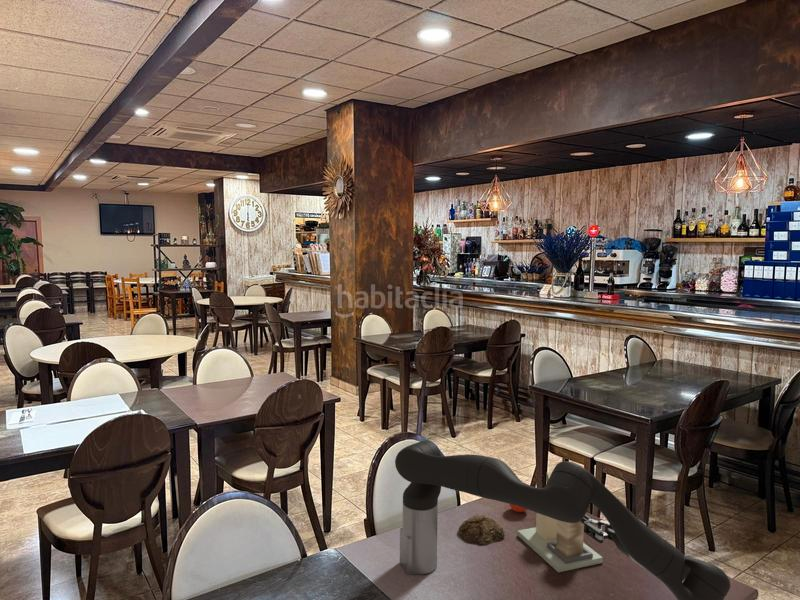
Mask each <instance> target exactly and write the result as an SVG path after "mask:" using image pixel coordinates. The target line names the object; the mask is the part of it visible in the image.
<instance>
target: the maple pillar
mask: <svg viewBox="0 0 800 600" xmlns="http://www.w3.org/2000/svg"><path fill="white" fill-rule="evenodd" d="M583 543H584V524H583V523H582V522H577V523H567V522H563V521H559V520H557V535H556V549H557V550H559V551H560V552H561V553H562V554H563V555H564V556H566V557H570V556H575V555H580V554H583Z"/></svg>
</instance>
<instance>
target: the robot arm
mask: <svg viewBox="0 0 800 600" xmlns="http://www.w3.org/2000/svg"><path fill="white" fill-rule="evenodd" d="M394 463H395V468H396V471H397V473H398V474H399V475H400V476H401V478H403V480H405V481H408V482H409V484H408V485H407V487H406V488H405V489H404V490H403V493H402V527H400V529H399V563H400V564H401V566H402V568H403V569H404V571H405V572H406V574H408V575H409V574H414V575H426V574H430V573H432V572H434V571H435V570H436V568H437V566H438V507H439V505H438V502H439V500H438V499H439V497H440V494H441V491H442V488H445V489H450V490H452V491H458V492H462V493H466V494H470V495H472V496H475V497H479V498H484V499H488V500H492V501H498V502H502V503H504V504H505V503H506V504H508V505H509V504H512V505H516V506H519V507H522V508H525V509H527V510H528V511H530V512H531V511H532V512H533V513H535V514H536V513H539V514H542V515H545V516H547V517H550V518H553V519H556V520H559V521H563V522H567V523H577V522H582V523H583V524H584V533H585V534H586V535H588V537H590V538H591V539H593V540H595V541H596V542H597V543H599V544H604V540H609V541H611V542H614V544H615V545H616V546H615V547H616V548H617V549H618V551H620V553H622V554H623V555H624V556H626V557H627V558H629V559H630V560H631V561H633V562H634V563H635V564H636V565H638V566H640V567H641V568H642V569H645V570H646V571H648V572H649V573H651V574H652V575H654V576H655V577H656V578H657V579H659V581H661V582H662V583H663V584H664V585H665V586H666V587H667V588H668V590H670V592H671V593H672V594H673V595H674V597H675V598H676V599H677V600H725V597H726V596H727V595H728V593H729V592H730V590H731V585H732V584H731V579H730V578H729V576H728V575H727V573H726V572H725V571H724V570H722V569H721V568H720V567H718V566H717V565H715V564H713V563H710V562H707V561H705V560H701V559H697V558H693V557H691V556H687V555H685V554H683V552H681V551H680V550H679V549H678V548H677V547H676V546H674V545H672V543H670V542H669V541H668V540H666V539H665V538H663V537H662V536H660V534H658V533H656V532H655V531H654V530H652V529H651V528H650V527H649V526H648V525H647V523H645V522H644V521H643V520H641V519H640V518H638V517H637V516H636V515H635V514H634V513H633V512H632V511H631V510H630V509H629V508H628V507H627V506H626V505H625V504H624V503H622V502H621V500H620V499H619V498H617V496H616V495H614V493H612V491H610V489H608V488H607V487H606V486H605V485H604V484H603V483H602V482H601V481H600V480H599V479H598V478H597V477H596V476H595V475H594V474H592V473H591V472H590V471H589V470H588V469H586V468H584V467H583V466H581V465H579V464H578V463H575V462H573V461H567V460H566V461H565V460H564V461H560V462H557V464H556V465H555V466H554V468H553V469H552V471H551V475H550V478H549V480H548V482H547V481H546V484H545V485H544V487H536V486H531V485H530V484H529V485H528V484H527V483H524V482H523V481H522V480H521V479H520V477H518V476H517V475H516V473H515V472H514V471H513V470H512V469H511V468H510V466H508V465H507V463H505V462H504V461H502V460H501V459H499V458H495V457H491V456H485V455H481V454H457V455H456V454H453V455H446V456H445V455H444V456H442V453H441V450H440V448H439V446H438V445H437V444H436V443H435V442H433V441H432V440H427V439H426V440H421V441H418V442H416V443H415V442H414V443H412V444H410V445H407V446H405V447H403V448H402V449H401V450H400V451H399V452H398V453H397V454H396V456H395V460H394ZM590 504H592V505H593V506H595V508H596V509H598V511H600V513H602V515H603V516H604V518H605V519H606V520H603V519H599V520H597V519H592V517H590V516H589V515H588V514H587V512H588V510H589V507H590ZM595 525H597V526H595ZM603 526H604V531H603Z"/></svg>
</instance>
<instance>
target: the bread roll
mask: <svg viewBox="0 0 800 600" xmlns="http://www.w3.org/2000/svg"><path fill="white" fill-rule="evenodd" d="M457 533H458V534H460V535H461V536H462V537H463V539H464V541H465V542H466V543H469V544H480V545H489V544H490V543H491V544H492V543H495V542H502V540H504V538H505V536H506V535H505V531H504V528H502V526H501V525H500V524H499V523H498V522H497V521H495V520H494V519H493V518H492V517H491V518H490V517H488V516H486V515H473V516H470V517H469V518H468V519H466V520H464V521H463V522H462V523H461V524H460V526H459V527H458V532H457ZM491 544H490V545H491Z"/></svg>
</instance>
